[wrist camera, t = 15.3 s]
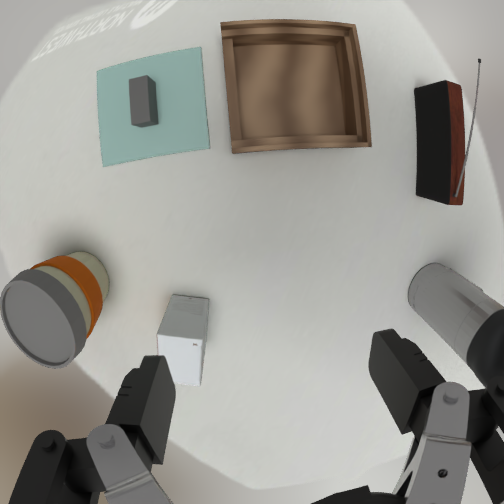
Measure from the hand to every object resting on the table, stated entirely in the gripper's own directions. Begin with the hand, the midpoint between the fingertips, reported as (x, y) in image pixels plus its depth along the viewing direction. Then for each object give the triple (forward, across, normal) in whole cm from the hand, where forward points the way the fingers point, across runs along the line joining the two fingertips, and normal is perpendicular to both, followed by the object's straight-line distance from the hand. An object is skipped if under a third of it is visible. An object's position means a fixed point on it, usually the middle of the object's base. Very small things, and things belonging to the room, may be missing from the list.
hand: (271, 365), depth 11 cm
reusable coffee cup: (+30, +26, +7) cm, 41 cm away
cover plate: (+31, +11, -16) cm, 37 cm away
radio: (+30, -28, -10) cm, 42 cm away
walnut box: (+30, -7, -16) cm, 35 cm away
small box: (+30, +10, +15) cm, 35 cm away
